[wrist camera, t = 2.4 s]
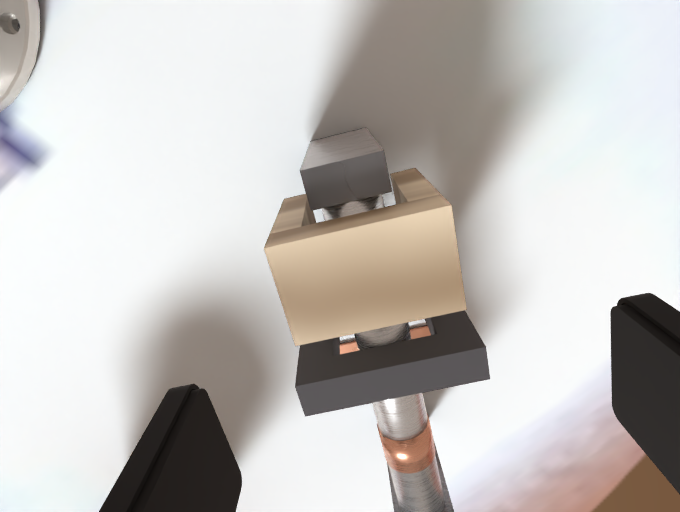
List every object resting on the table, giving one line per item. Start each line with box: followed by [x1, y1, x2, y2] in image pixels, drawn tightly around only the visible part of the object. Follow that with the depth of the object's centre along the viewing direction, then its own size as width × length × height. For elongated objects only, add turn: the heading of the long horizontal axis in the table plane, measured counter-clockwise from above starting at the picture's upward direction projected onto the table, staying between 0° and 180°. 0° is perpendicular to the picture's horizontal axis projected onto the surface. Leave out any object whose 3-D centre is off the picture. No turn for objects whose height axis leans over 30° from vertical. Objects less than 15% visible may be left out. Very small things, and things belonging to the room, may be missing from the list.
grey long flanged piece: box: [300, 128, 454, 512], centre depth 23 cm, size 20×10×8 cm, turn 13°
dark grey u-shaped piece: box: [295, 310, 490, 416], centre depth 21 cm, size 2×7×9 cm, turn 103°
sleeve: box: [264, 168, 467, 346], centre depth 18 cm, size 4×6×7 cm, turn 103°
